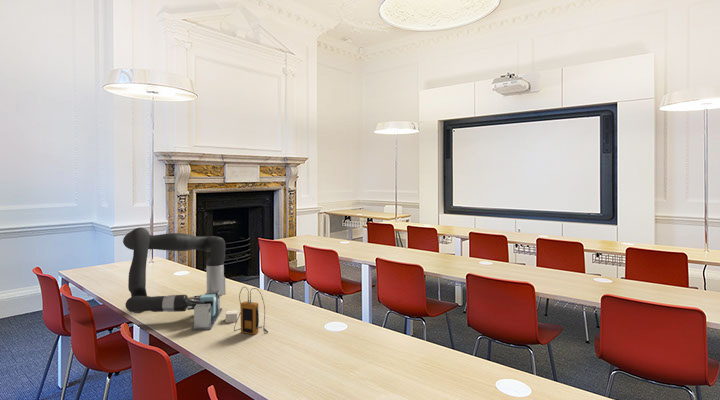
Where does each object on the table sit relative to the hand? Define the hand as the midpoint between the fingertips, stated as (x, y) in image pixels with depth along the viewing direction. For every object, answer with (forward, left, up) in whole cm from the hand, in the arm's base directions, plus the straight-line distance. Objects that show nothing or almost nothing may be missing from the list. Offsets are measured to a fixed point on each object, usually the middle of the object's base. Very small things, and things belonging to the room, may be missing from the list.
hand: (213, 301), depth 184 cm
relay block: (-5, +7, -8) cm, 12 cm away
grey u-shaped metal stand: (+2, -2, -8) cm, 9 cm away
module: (+2, -2, -6) cm, 7 cm away
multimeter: (-5, +25, -9) cm, 27 cm away
